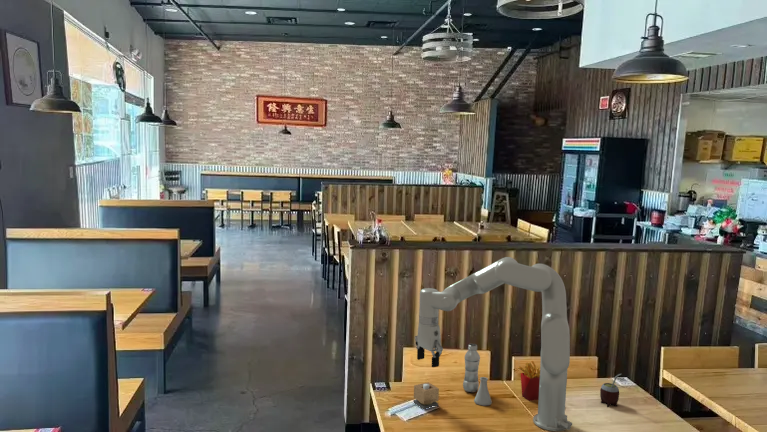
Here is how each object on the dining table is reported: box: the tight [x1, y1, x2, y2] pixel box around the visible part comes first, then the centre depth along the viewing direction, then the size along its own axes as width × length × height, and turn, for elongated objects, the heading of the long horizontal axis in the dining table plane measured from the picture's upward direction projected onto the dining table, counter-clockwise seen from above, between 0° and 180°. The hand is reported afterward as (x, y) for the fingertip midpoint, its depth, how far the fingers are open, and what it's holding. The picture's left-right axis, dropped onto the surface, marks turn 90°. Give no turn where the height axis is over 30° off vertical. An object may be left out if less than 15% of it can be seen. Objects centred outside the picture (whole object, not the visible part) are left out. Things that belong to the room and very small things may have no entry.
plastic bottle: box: [462, 343, 481, 393], centre depth 223 cm, size 6×7×20 cm
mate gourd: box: [599, 373, 622, 408], centre depth 213 cm, size 8×8×15 cm
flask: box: [473, 376, 493, 406], centre depth 212 cm, size 7×7×10 cm
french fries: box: [518, 360, 540, 402], centre depth 218 cm, size 9×8×15 cm
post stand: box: [412, 383, 439, 410], centre depth 208 cm, size 7×7×8 cm
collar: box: [413, 382, 440, 404], centre depth 208 cm, size 7×7×5 cm
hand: (427, 362), depth 207 cm, fingers open, 9 cm apart
